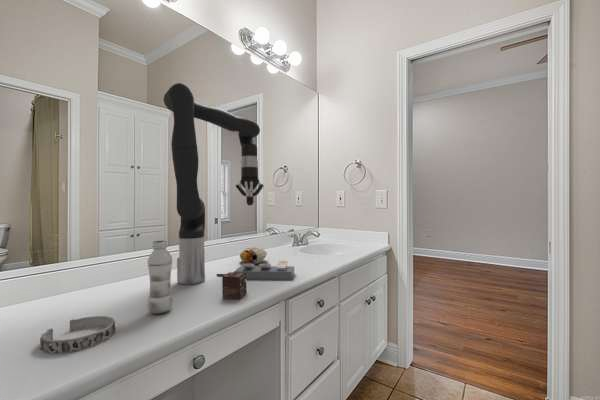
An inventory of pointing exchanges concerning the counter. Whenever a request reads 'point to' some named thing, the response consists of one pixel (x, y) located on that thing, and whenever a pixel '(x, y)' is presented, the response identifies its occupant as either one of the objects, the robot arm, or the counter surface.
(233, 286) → the box
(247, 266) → the rocker left
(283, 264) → the rocker right
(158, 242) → the plastic bottle
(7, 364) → the counter surface
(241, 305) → the counter surface
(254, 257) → the nautilus
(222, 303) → the counter surface
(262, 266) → the rocker middle
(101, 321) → the bracelet
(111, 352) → the counter surface
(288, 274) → the power strip
